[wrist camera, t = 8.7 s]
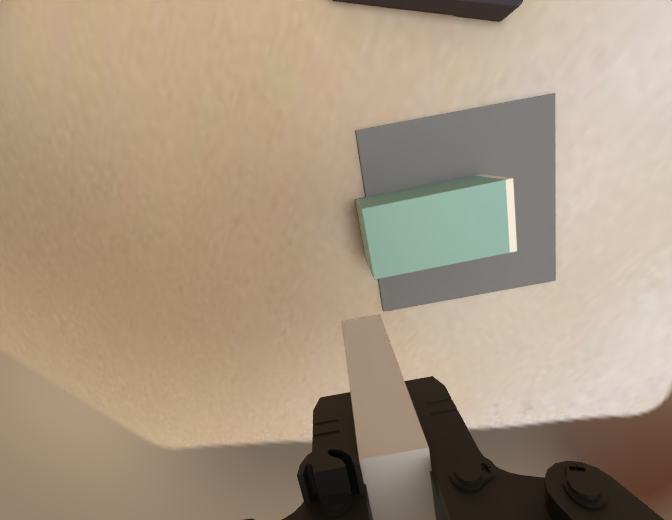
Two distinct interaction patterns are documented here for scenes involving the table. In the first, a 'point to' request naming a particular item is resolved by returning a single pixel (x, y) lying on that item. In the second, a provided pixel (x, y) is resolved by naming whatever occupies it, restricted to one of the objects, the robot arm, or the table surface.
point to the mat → (463, 161)
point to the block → (438, 224)
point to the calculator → (451, 7)
